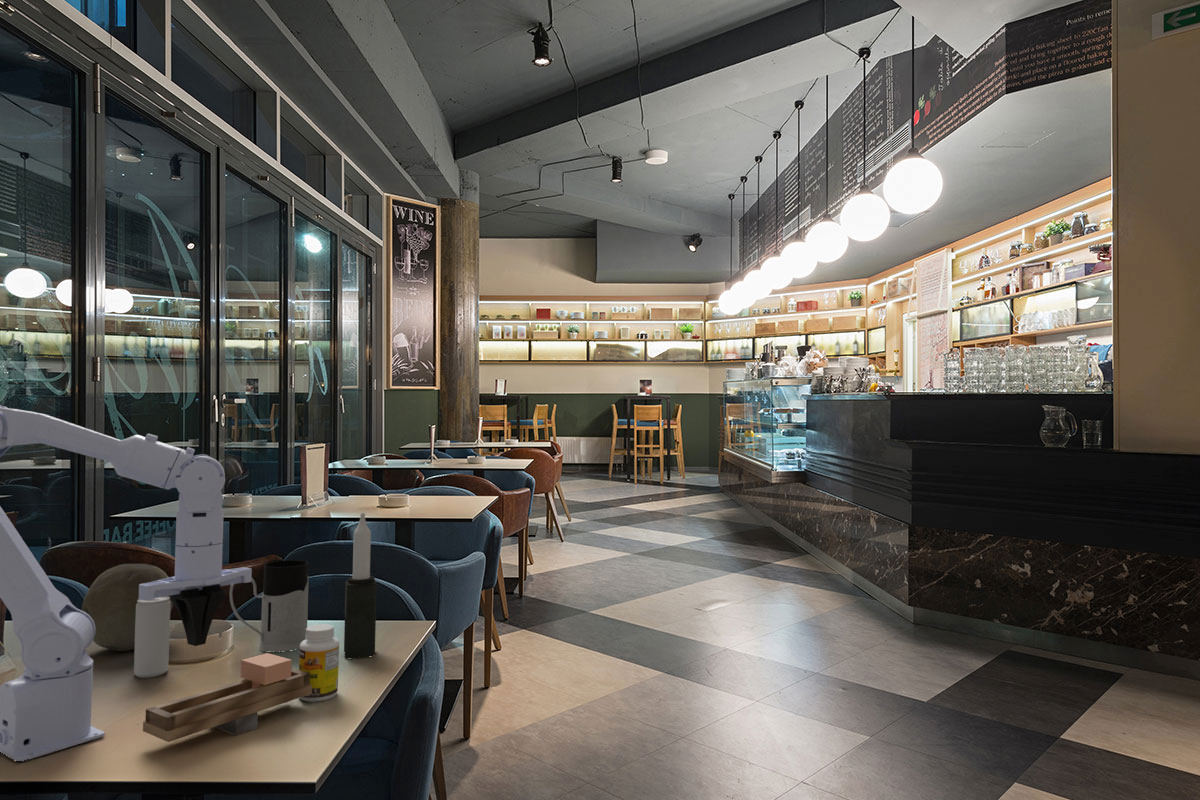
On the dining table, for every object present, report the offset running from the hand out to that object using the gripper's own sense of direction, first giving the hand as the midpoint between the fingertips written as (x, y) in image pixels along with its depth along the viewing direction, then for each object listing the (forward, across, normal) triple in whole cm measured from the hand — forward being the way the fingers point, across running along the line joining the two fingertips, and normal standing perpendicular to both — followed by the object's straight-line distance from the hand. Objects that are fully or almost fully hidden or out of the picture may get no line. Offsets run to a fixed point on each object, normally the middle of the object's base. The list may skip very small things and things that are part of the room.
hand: (196, 643), depth 101 cm
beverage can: (+11, +7, +25) cm, 28 cm away
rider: (+7, +7, -6) cm, 11 cm away
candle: (+11, +33, +6) cm, 35 cm away
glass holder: (+11, +26, +22) cm, 36 cm away
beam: (+10, +2, -6) cm, 12 cm away
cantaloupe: (+11, +12, +43) cm, 46 cm away
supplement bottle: (+11, +15, -6) cm, 20 cm away
